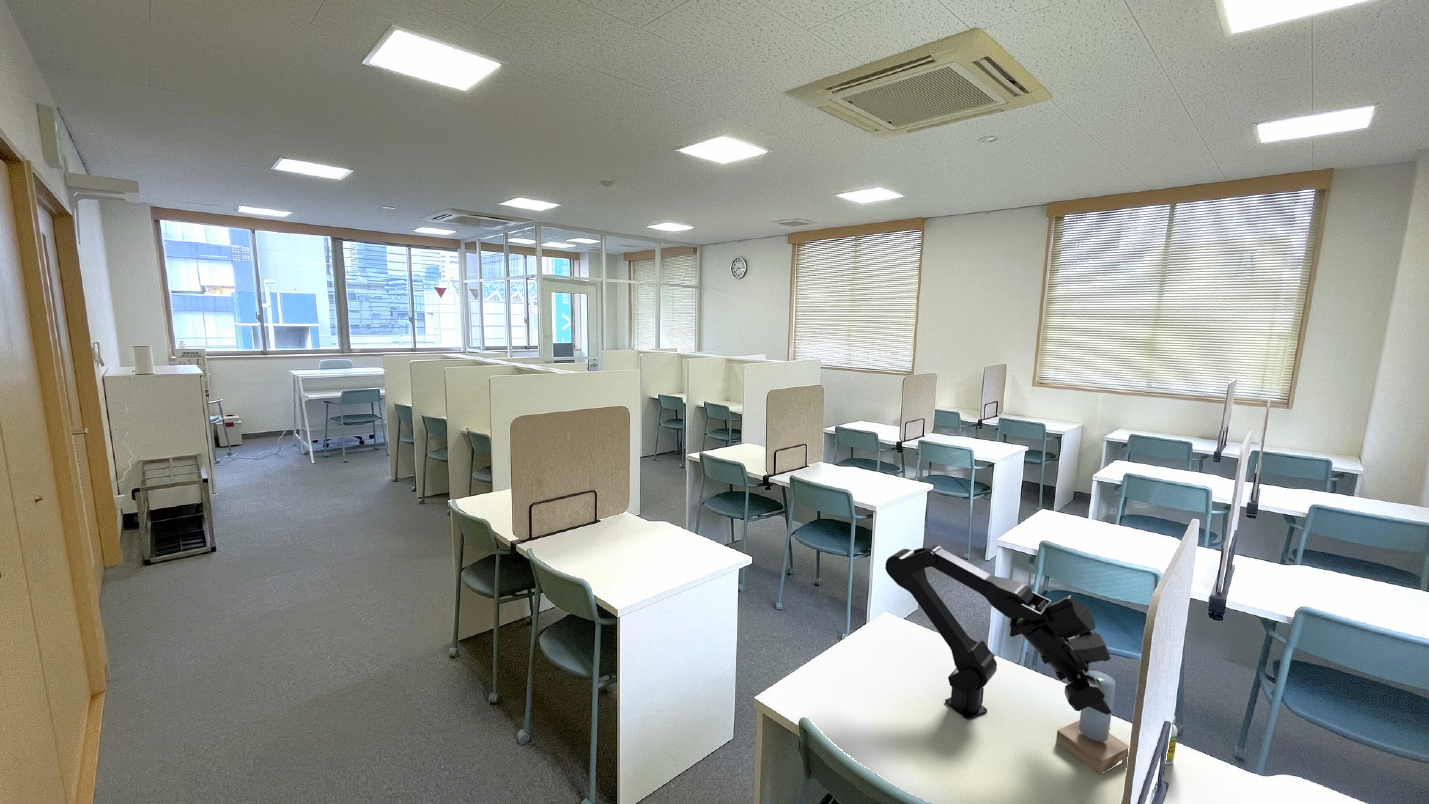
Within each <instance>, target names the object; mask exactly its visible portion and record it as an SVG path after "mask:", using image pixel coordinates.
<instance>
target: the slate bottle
mask: <svg viewBox="0 0 1429 804" xmlns="http://www.w3.org/2000/svg"><path fill="white" fill-rule="evenodd" d="M1085 675H1089V676H1091V677H1093V678H1094V679H1095V680H1097V679H1098V681H1099V683H1100V685H1101V687H1102V690H1103V692H1104V694H1105V697H1104V698H1103V699H1104V701H1105V702H1106V704H1107V705H1108V707H1109V708H1110V710H1111V713H1110V714H1108V715H1106V714H1104V713H1102V712H1100V711H1097V710H1095V709H1093V708H1091V707H1086V708H1084V709H1082V710H1080V715H1079V720H1080V721H1079V720H1078V721H1079V730H1080V731H1081V733H1082V734H1084V735H1085V736H1086V737H1088V738H1090V739H1092V740H1095V741H1101V742H1102V741H1106V740H1108V736H1109V733H1110V728H1111V719H1112V714H1113V705H1114V698H1115V692H1116V684H1117V682H1116V681H1115V680H1114V678H1113V677H1112V676H1110V675H1108V674H1106V673H1104V672H1100V671H1097V670H1089V671H1088V672H1086V674H1085Z"/></svg>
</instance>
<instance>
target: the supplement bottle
mask: <svg viewBox="0 0 1429 804" xmlns="http://www.w3.org/2000/svg"><path fill="white" fill-rule="evenodd" d="M1175 722H1176V716H1175V715H1174V719H1173V722H1172V735H1171V738H1170V742H1169V749H1168V753H1167V760H1166V765H1165V766H1167V765H1168V766H1169V765H1172V763H1174V759H1175V753H1176V746H1177V740H1178V728H1177V726H1176V725H1175V724H1176V723H1175Z"/></svg>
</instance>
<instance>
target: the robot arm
mask: <svg viewBox="0 0 1429 804" xmlns="http://www.w3.org/2000/svg"><path fill="white" fill-rule="evenodd" d="M931 567H932V568H933V569H935V570H937V571H939V572H941V573H942V574H944V575H946V576H948V577H950V578H951V579H953V580H955V581H957V582H959V583H960V584H962V585H964V586H965V587H967V588H970V590H973V591H975V592H976V593H978V594H980V595H981V596H983V597H984V598H985V599H986V600H987V602H988V603H989V605H991V606H992V608H994V609H995V610H997V611H999V612H1000V613H1001V614H1002V615H1004V617H1007V618H1009V619H1010V622H1009V627H1010V631H1009V636H1010V638H1014V637H1016V636H1019V635H1022V636H1023V638H1024V639H1025V640H1026V641H1027V642H1028V644H1030V645H1031V647H1033V649H1034V650H1036V652H1037V653H1038V654H1039V656H1040V659H1041V661H1042V662H1043V664H1045V665H1047V664H1048V665H1049V666H1050V667H1051V669H1052V670H1054V672H1055V676H1056V677H1057V678H1058V680H1059V681H1062V680H1065V679H1066V680H1067V681H1068V684H1066V685H1065V686H1064V694H1065V697H1066V700H1067V703H1068V704H1069V705H1070V706H1071V708H1072V709H1073V710H1074V711H1075V712H1081V710H1082V709H1084V708H1086V707H1091V708H1093V709H1095V710H1097V711H1100V712H1102V713H1104V714H1106V715H1108V714H1110V713H1111V710H1110V708H1109V707H1108V705H1107V704H1106V702H1105V701H1104V699H1103V698H1104V697H1105V694H1104V692H1103V690H1102V687H1101V685H1100V683H1099V681H1098V679H1097V680H1095V679H1094V678H1093V677H1091V676H1089V675H1085V674H1086V672H1088V671H1090V670H1089V669H1090V668H1089V667H1090V664H1091V663H1097V662H1108V661H1110V660H1111V659H1112V657H1111V655H1110V652H1109V650H1108V648H1107V645H1106V643H1105V641H1104V639H1103V637H1102V636H1101V634H1099V633H1098V632H1097V630H1096V631H1093V630H1095V629H1096V622H1095V619H1094V617H1093V615H1092V613H1091V611H1090V610H1089V608H1088V607H1087V606H1085V605H1084V604H1083V603H1081V602H1080V601H1079V600H1075V598H1074V597H1073V596H1072V595H1067V596H1064V597H1063V598H1062V599H1060V600H1057V601H1054V602H1053V600H1051V599H1049V598H1047V597H1045V596H1043V595H1041V594H1039V593H1037V592H1036V591H1035V592H1034V591H1033V590H1032V589H1031V588H1030V586H1028V585H1027V584H1025V583H1023V582H1020V581H1016V580H1014V579H1011V578H1007V577H1001V576H996V575H994V574H990V573H988V572H987V571H984V570H983V569H981V568H979V567H977V566H976V565H974V564H972V563H970V562H968V561H966V560H964V559H962V558H960V557H959V556H956V555H954V554H952V553H951V552H949V551H947V550H945V549H944V548H943V547H942V546H941V545H938V544H932V545H930V546H926V547H920V548H915V549H909V548H903V549H900V550H899V551H897V552H895V553H894V554H892V555H891V556H889V557H888V558H887V559H886V561H885V567H884V568H885V571H886V573H887V575H888V576H889V577H890V578H891V579H892V580H893V581H894V582H895V584H896V585H898V586H899V587H901V588H903V589H904V590H906V591H907V592H908V593H910V594H911V596H912V597H913V598H914V600H915V601H916V602H917V604H918V605H919V606H920V608H921V609H922V611H923V612H924V614H925V615H926V616H927V617H928V619H929V620H930V622H931V624H932V625H933V627H935V628H934V629H936V630H937V633H939V634H940V636H941V637H942V639H943V640H944V642H945V643H946V644H947V646H948V647H949V649H950V650H951V654H952V658H953V663H954V665H955V667H956V668H955V669H954V670H953V671H952V672H951V673H950V674H949V675H948V677H947V678H948V683H949V686H950V687H951V691H950V697H949V698H948V697H947V698H946V699H944V702H945V704H947V705H948V706H949V707H950V708H951V709H952V710H954V711H955V712H957V713H958V714H959V715H960V716H962V717H963V718H964V719H965V720H970V719H972V718H975V717H978V716H980V715H983V714H985V713H988V708H987V707H985V706H984V705H982V704H983V700H984V687H985V686H986V685H987V684H988V683H989V682H990V681H991V679H992V677H993V676H995V674H996V672H997V668H998V664H997V661H996V659H995V657H996V654H994V653H993V652H992V651H991V650H990V649H989V647H988V646H987V644H986V642H985V641H984V640H983V639H980V640H979V641H978V642H977V641H976V640H974V639H973V638H971V637H970V636H969V635H968V633H966V631H965V630H964V629H963V627H962V626H961V624H960V623H959V621H958V620H957V619H956V618H955V616H954V615H953V614H952V613H951V610H949V608H948V607H947V605H946V604H945V603H944V601H943V600H942V598H940V597H939V595H938V593H937V592H936V590H934V588H933V586H932V585H931V584H930V582H929V581H928V577H927V573H926V570H925V569H927V568H931ZM1033 607H1034V608H1033Z"/></svg>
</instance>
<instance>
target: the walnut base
mask: <svg viewBox="0 0 1429 804" xmlns="http://www.w3.org/2000/svg"><path fill="white" fill-rule="evenodd" d="M1079 721H1080V719H1079V720H1077V721H1074V722H1073V723H1070V724H1068V725H1065V726H1064V727H1060V728H1059V729H1057V731H1056V739H1055V743H1056V745H1058V746H1060V748H1062V749H1064V750H1065V751H1067V753H1069V754H1071V755H1072V756H1073V757H1075V758H1076V759H1078V761H1080V762H1081V763H1083V764H1085V765H1086V766H1087V767H1089V768H1090V769H1091V770H1093V771H1094V772H1095V771H1096V772H1095V773H1097V774H1098V775H1100V774H1101V775H1102V773H1103V772H1105V771H1107V770H1108V769H1110V768H1112V767H1113V766H1115V765H1116V764H1117V763H1118V762H1119V761H1121V760H1122V764H1125V763H1126V762H1128V761H1127V757H1128V748H1129V746H1130V745H1128V744H1127V743H1125V742H1124V741H1122V740H1121V739H1119V738H1118V737H1116V736H1114V735H1113V734H1112V733H1110V732H1109V736H1108V740H1106V741H1102V742H1101V741H1095V740H1092V739H1090V738H1088V737H1086V736H1085V735H1084V734H1082V733H1081V731H1080V730H1079ZM1107 772H1108V771H1107ZM1105 773H1106V772H1105ZM1103 774H1104V773H1103Z"/></svg>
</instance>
